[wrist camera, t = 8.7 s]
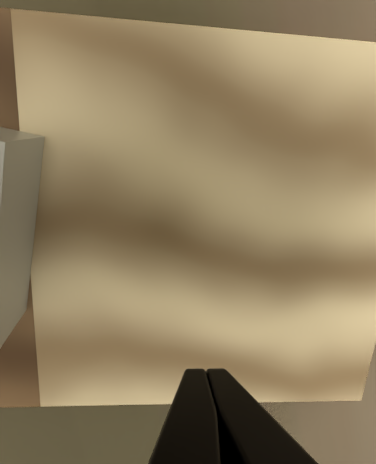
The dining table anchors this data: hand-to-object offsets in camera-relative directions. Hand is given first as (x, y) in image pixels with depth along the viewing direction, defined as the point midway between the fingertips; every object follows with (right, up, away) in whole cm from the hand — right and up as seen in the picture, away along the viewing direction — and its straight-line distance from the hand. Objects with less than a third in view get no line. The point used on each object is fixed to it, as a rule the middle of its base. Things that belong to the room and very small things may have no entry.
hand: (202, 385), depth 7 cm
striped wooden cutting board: (-3, +3, +10) cm, 11 cm away
